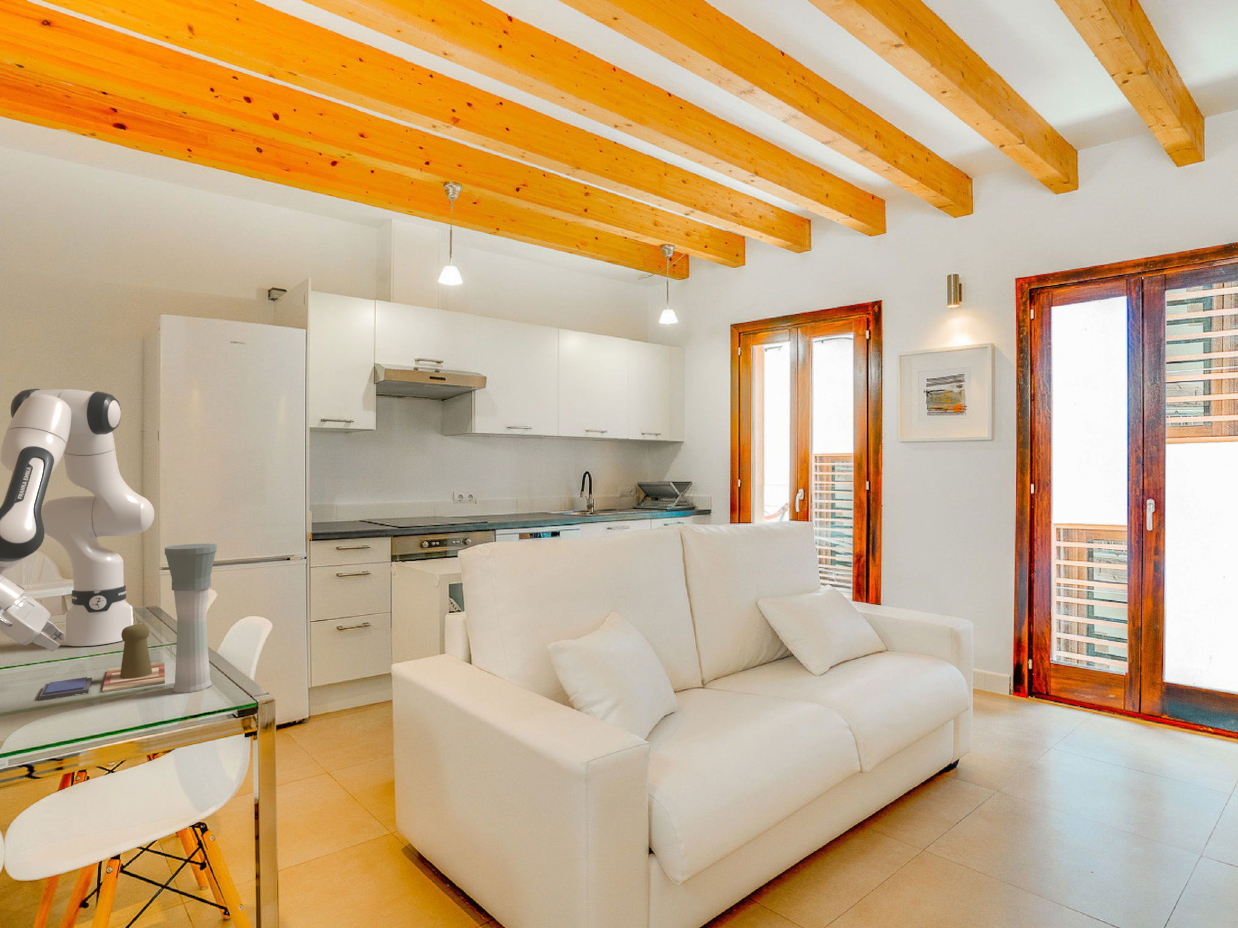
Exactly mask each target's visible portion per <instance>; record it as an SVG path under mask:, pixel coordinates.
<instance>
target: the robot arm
mask: <svg viewBox="0 0 1238 928" xmlns="http://www.w3.org/2000/svg"><path fill="white" fill-rule="evenodd" d="M10 416H11V420H10V422H9V424H8V427H7V429H6V431H5V435H4V438H3V440H2V444H1V450H0V462H1V463H2V465H3V466H4V467H5V468H6V469H7V470H8V471H10V472H11V475H10V479H9V482H8V486H7V488H6V492H5V496H4V498H3V501H2V504H1V506H0V632H2V633H3V634H5V635H6V636H8V637H9V638H10V639H12V640H14V641H15V642H16V643H18V644H20V645H22V646H28V645H29V644H31V643H34V644H36V645H38V646H40V647H43V648H46V650H48V651H50V652H55V651H56V650H58V649H59V647H60V646H69V647H70V646H71V647H89V646H99V645H106V644H113V643H117V642H122V641H123V639H122V636H121V634H122V630H123V629H124V628H125V627H128V626H131V625H134V622H135V619H134V616H133V614H134V613H133V612H134V611H133V610H134V609H133V605H131V603H129V602H127V600H126V598H127V587H126V585H125V578H124V576H125V573H124V571H125V570H124V569H125V568H124V565H125V564H124V559H123V557H122V556H121V555H120V554H119V553H118V552H116V551H115V550H112V549H109V548H105V547H103V546H102V545H101V544H100V543H99V541H98V538H99V537H116V536H117V537H120V536H121V537H122V536H129V535H135V534H140V533H144V532H146V531H148V530H149V528H151V526H152V524H153V523H154V520H155V508H154V506H153V504H152V503H151V501H150V500H149V499H147V498H146V497H144V496H142V495H140V494H139V493H137V492H135V490H133V489H132V488H131V487H130V486H129V485H128V484H127V483H126V481H125V480H124V478H123V477H122V475H121V472H120V469H119V468H120V467H119V463H118V458H117V452H116V443H115V438H114V437H115V436H114V433H113V432H114V431H115V430H116V428H118V427H119V425H120V422H121V416H122V408H121V404H120V401H118V399H116V397H115V396H114V395H113V394H110V393H107V392H102V391H99V390H98V391H89V390H84V389H83V390H81V389H75V388H74V389H73V388H66V389H62V388H60V389H57V388H56V389H55V388H53V389H40V388H30V389H24V390H21V391H20V392H18V394H16V395H15V396H14V397H13V399H12V401H11V404H10ZM62 458H63V459H64V466H65V474H66V477H67V478H68V480H69V481H70V482H71V483H72V484H74V485H76V486H77V487H80V488H83V489H85V490H87V491H88V492H90V493H92V495H88V496H87V495H86V496H84V495H83V496H65V497H60V498H55V499H54V498H53V499H49V500H47V501H46V502H45V503H44V499H45V496H46V492H47V489H48V485H49V482H50V478H51V476H52V474H53V473H54V472H55V470H56V469H57V468H58V466H59V464H60V463H61V460H62ZM45 534H46V535H47V536H48V537H50V538H52V539H53V540H55V541H56V542H58V543H59V544H60V545H61V546H62V548H63V549H65V551H66V553H67V554H68V556H69V558H70V561H71V568H72V576H73V577H72V579H73V580H72V581H73V589H72V590H71V595H70V598H71V604H72V606H70V608H69V609H68V610H67V611H65V613H64V632H63V631H62V630H60V629H59V628H58V627H57V626H56V625H55V624H54V623H53V622H52V621H50V618H51V616H52V615H51V613H50V611H48V609H46V608H45V607H44V606H43V605H42V604H40V603H39V602H38V601H37V600H36V599H34V598H33V597H32V596H30V595H29V594H27V593H26V588H24V587H22V585H19V584H16V583H14V582H13V581H11V580H10V579H9V578H7V577H5V576H4V575H3V573H4V572H5V571H8V570H11V569H12V568H14V567H16V566H17V565H18V564H19V563H21V562H22V561H24V559H26V558H27V557H28V556H30V555H32V554H34V553H35V552H37V551H38V549H39V548H40V547H41V546H42V544H43V542H44V539H45ZM47 635H48V636H47Z"/></svg>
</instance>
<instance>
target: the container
mask: <svg viewBox="0 0 1238 928" xmlns="http://www.w3.org/2000/svg"><path fill="white" fill-rule="evenodd" d="M216 553H217V544H216V543H188V544H178V545H168V546H165V547H164V555H165V558H166V560H167V561H166V562H167V565H168V569H169V573H170V577H171V591H173V595H174V603H175V612H176V653H175V670H174V671H175V676H174V685H173V688H172V692H174V693H178V694H188V693H189V694H190V693H196V692H199V691H204V690H207V689H209V688H210V687H212V686H213V683H212V681H211V680H212V679H211V671H210V660H209V647H208V646H209V645H208V644H209V643H208V628H207V611H208V601H209V600H208V599H209V588H210V587H212V581H211V580H212V578H211V576H212V570H213V565H214V561H215V558H216V557H215V556H216Z"/></svg>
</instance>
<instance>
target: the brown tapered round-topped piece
mask: <svg viewBox="0 0 1238 928" xmlns="http://www.w3.org/2000/svg"><path fill="white" fill-rule="evenodd" d="M121 636H122V639H123V640H122V641H123V642H124V644H123V651H122V659H121V667H120V668H121V673H120V678H123V679H132V678H139V677H144V676H147V675H150V674H151V673H152V668H151V663H152V662H151V658H150V652H149V646H148V637H149V636H150V629H149V627H148V626H147V625H146V624H133V625H131V626H128V627H125V628H124V629H123V630H122V634H121Z"/></svg>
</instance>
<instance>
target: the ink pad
mask: <svg viewBox="0 0 1238 928" xmlns="http://www.w3.org/2000/svg"><path fill="white" fill-rule="evenodd" d="M92 681H93V677H88V676H85V677H78V678H71V679H65V680H57V681H50V682H48V683H45V684H44V686H43V688H42V690H41V692H40V694H39V695H38V701H44V700H45V699H46V700H51V699H58V698H57V697H60V698H63V697H64V698H65V696H66V697H71V696H72V695H73V696H76V695H75V694H80V695H84V694H83V693H87V694H89V691H90V689H91V686H90V685H92ZM89 688H90V689H89Z"/></svg>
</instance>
